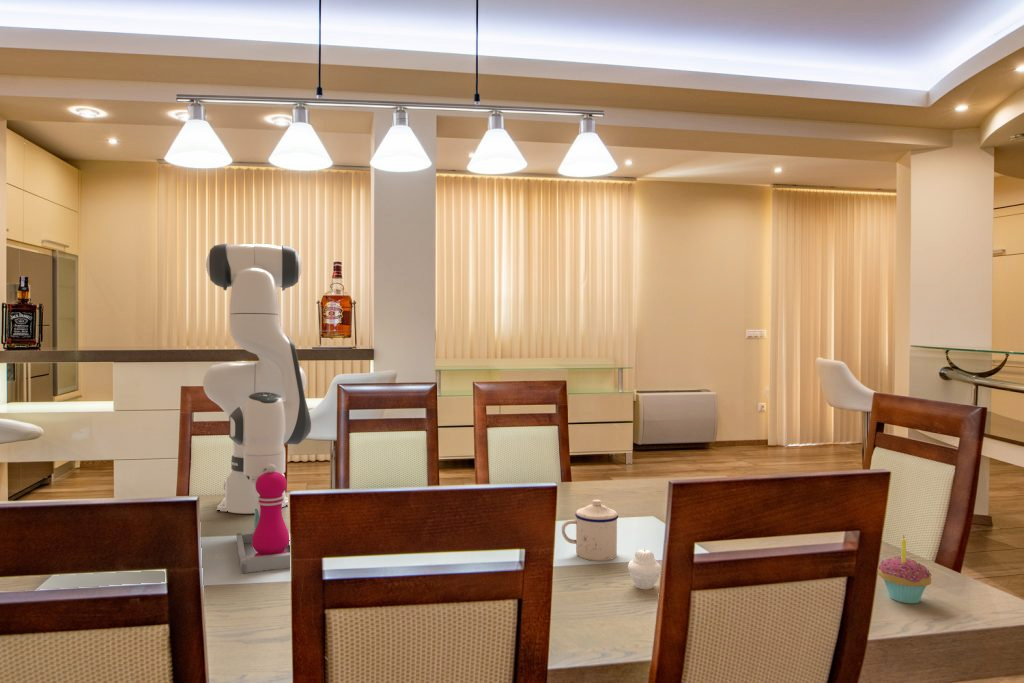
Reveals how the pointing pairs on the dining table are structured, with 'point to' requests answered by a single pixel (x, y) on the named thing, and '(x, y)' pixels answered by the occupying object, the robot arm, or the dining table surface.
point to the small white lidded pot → (644, 569)
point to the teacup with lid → (594, 532)
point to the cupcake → (904, 577)
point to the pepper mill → (270, 514)
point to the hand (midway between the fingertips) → (264, 526)
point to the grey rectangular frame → (259, 561)
